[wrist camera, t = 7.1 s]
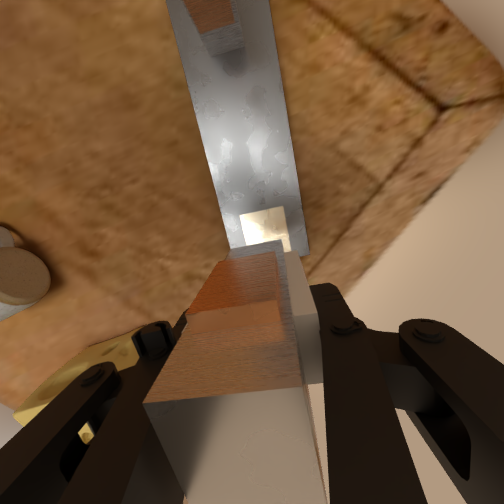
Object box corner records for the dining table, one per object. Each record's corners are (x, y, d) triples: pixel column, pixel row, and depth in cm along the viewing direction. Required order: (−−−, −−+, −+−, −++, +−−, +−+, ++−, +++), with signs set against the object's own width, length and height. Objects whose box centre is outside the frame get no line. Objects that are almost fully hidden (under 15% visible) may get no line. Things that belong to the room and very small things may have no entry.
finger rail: (171, 6, 20) (56, -188, 10) (262, -27, 19) (249, -290, 8) (237, 263, 27) (214, 322, 16) (307, 250, 26) (333, 303, 15)
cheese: (145, 322, 31) (88, 388, 21) (183, 384, 34) (149, 466, 24) (82, 345, 33) (5, 414, 23) (124, 401, 36) (70, 484, 26)
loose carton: (228, 238, 14) (131, 378, 4) (279, 228, 13) (296, 358, 4) (246, 307, 15) (201, 531, 6) (293, 300, 15) (332, 529, 5)
